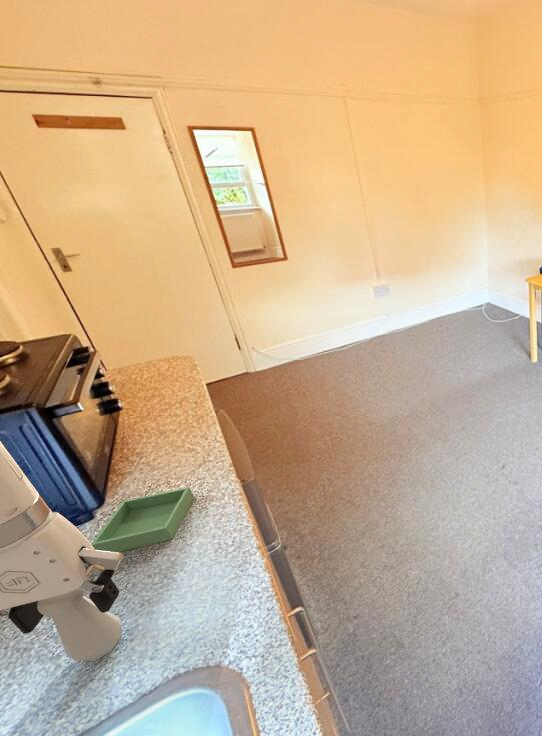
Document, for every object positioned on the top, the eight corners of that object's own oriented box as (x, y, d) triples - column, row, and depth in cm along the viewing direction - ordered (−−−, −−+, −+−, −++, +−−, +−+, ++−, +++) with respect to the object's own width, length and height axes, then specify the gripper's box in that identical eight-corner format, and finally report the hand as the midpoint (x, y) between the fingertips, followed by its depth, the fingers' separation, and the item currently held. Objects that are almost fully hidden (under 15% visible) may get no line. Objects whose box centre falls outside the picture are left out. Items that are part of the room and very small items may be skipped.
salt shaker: (89, 634, 61) (43, 579, 55) (134, 620, 62) (95, 565, 57) (66, 675, 56) (13, 620, 50) (116, 658, 58) (71, 603, 52)
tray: (97, 557, 73) (89, 545, 72) (129, 511, 83) (123, 500, 81) (172, 539, 76) (166, 528, 75) (194, 497, 86) (189, 486, 84)
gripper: (-132, 573, 42) (-30, 664, 50) (70, 528, 47) (135, 618, 55) (-65, 519, 49) (16, 607, 56) (107, 485, 53) (160, 570, 61)
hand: (74, 612), depth 55 cm, fingers open, 7 cm apart
